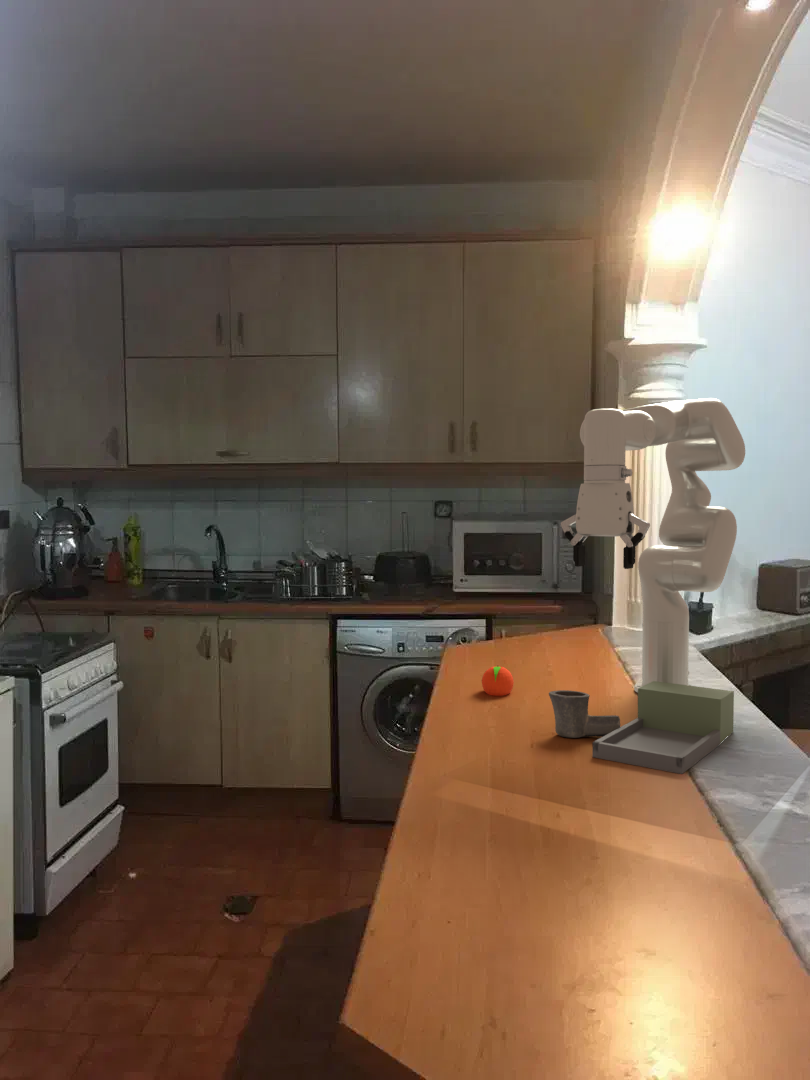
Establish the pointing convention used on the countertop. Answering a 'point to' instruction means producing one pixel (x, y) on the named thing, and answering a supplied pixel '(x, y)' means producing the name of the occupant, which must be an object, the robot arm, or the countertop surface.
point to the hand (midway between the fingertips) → (603, 567)
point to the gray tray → (670, 727)
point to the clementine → (497, 681)
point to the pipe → (579, 716)
